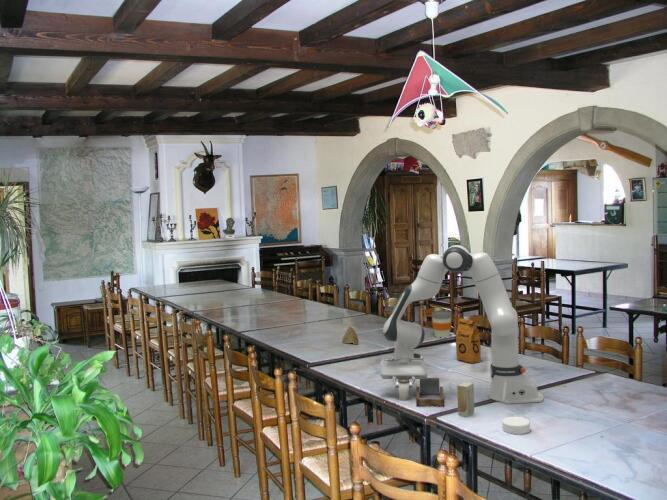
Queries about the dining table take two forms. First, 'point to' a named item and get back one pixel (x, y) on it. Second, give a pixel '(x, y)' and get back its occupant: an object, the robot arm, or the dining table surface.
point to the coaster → (516, 425)
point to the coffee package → (468, 342)
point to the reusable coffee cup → (441, 323)
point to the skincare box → (465, 398)
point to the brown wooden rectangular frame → (430, 400)
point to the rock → (350, 336)
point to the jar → (404, 389)
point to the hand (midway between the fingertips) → (403, 387)
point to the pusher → (429, 386)
